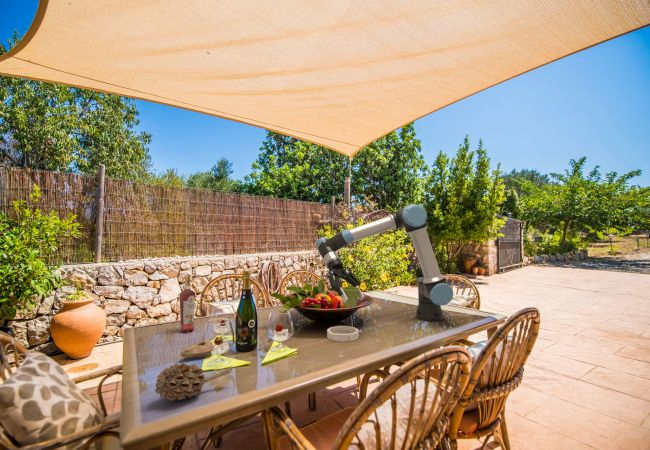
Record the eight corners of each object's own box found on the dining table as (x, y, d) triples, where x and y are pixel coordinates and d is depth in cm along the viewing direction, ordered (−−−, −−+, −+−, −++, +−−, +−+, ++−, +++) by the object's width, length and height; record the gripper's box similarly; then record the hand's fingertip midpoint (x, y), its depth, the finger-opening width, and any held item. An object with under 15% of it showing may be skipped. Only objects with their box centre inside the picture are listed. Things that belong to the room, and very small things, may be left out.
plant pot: (359, 305, 152) (359, 287, 153) (360, 309, 143) (360, 290, 143) (340, 304, 153) (340, 286, 154) (339, 308, 144) (339, 289, 144)
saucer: (363, 334, 149) (363, 328, 149) (350, 343, 136) (350, 336, 136) (335, 330, 156) (335, 324, 156) (321, 338, 143) (321, 332, 143)
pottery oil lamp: (175, 358, 120) (179, 339, 124) (205, 361, 127) (208, 343, 131) (184, 355, 115) (189, 335, 119) (215, 359, 122) (218, 340, 126)
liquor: (185, 334, 152) (185, 276, 153) (175, 332, 156) (176, 275, 157) (198, 330, 158) (198, 274, 160) (189, 328, 162) (189, 273, 164)
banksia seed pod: (158, 414, 82) (158, 376, 83) (151, 400, 90) (151, 364, 90) (238, 389, 96) (238, 355, 97) (226, 378, 104) (226, 347, 104)
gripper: (346, 266, 168) (367, 301, 154) (312, 268, 155) (331, 307, 141) (353, 257, 164) (375, 292, 150) (318, 258, 151) (339, 297, 137)
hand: (354, 299), depth 146 cm, fingers closed on plant pot, 9 cm apart
